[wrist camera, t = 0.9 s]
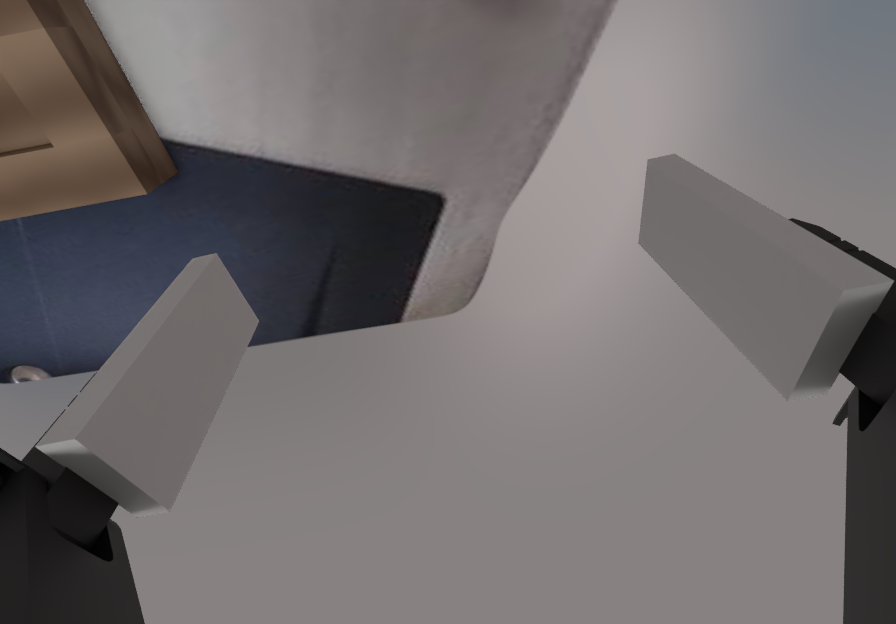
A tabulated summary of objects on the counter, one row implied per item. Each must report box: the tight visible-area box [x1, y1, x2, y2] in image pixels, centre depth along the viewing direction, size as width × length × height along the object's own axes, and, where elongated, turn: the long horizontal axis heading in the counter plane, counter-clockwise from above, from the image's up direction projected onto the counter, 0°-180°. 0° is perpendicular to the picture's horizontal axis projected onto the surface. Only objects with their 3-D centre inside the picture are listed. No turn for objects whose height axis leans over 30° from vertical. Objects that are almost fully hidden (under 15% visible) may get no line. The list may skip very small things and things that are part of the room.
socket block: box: [0, 0, 178, 221], centre depth 27 cm, size 14×14×5 cm
